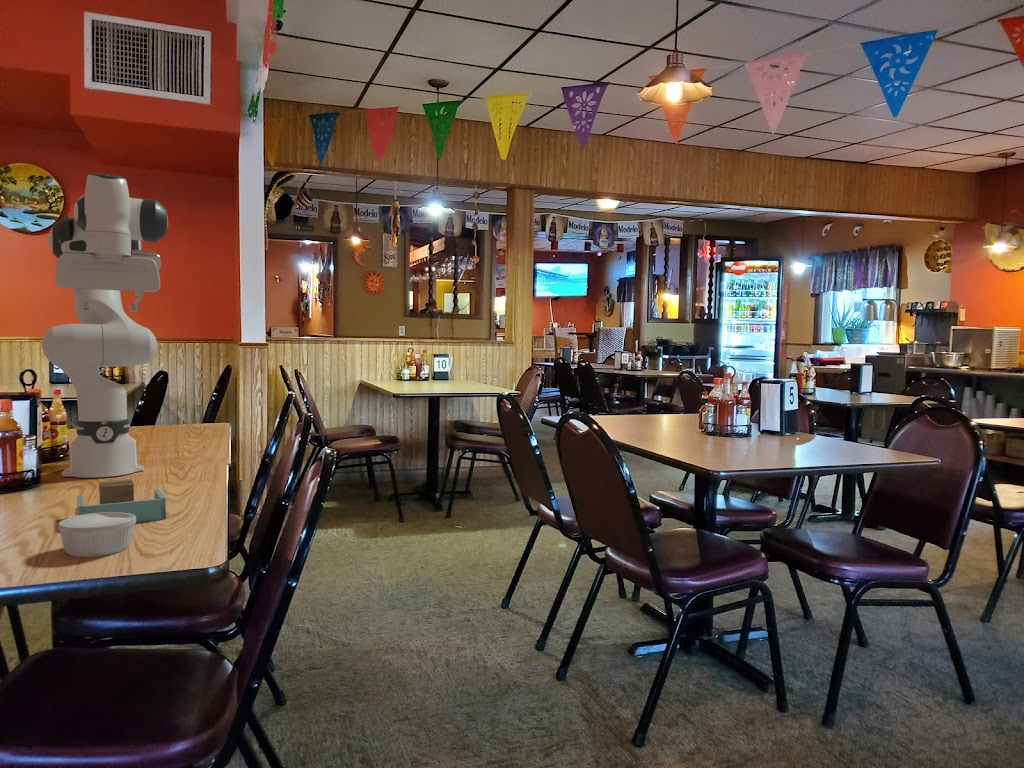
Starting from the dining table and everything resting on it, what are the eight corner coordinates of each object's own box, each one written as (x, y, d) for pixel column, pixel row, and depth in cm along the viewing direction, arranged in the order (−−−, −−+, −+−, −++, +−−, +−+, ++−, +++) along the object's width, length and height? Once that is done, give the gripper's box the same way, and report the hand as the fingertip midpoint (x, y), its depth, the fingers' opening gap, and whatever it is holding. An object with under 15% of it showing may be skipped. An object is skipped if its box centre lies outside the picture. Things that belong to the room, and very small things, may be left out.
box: (77, 516, 141) (77, 496, 141) (158, 507, 149) (158, 489, 149) (79, 528, 132) (78, 507, 132) (165, 518, 140) (165, 498, 140)
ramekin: (148, 541, 125) (148, 511, 125) (114, 560, 114) (113, 528, 113) (84, 540, 125) (83, 510, 124) (43, 559, 114) (43, 527, 113)
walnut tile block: (99, 505, 151) (99, 481, 151) (131, 502, 155) (131, 479, 154) (101, 510, 146) (100, 487, 146) (134, 507, 149) (133, 484, 149)
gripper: (159, 253, 164) (159, 312, 165) (54, 245, 153) (55, 309, 154) (162, 250, 159) (163, 312, 160) (54, 242, 148) (55, 308, 149)
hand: (109, 310), depth 157 cm, fingers open, 8 cm apart
